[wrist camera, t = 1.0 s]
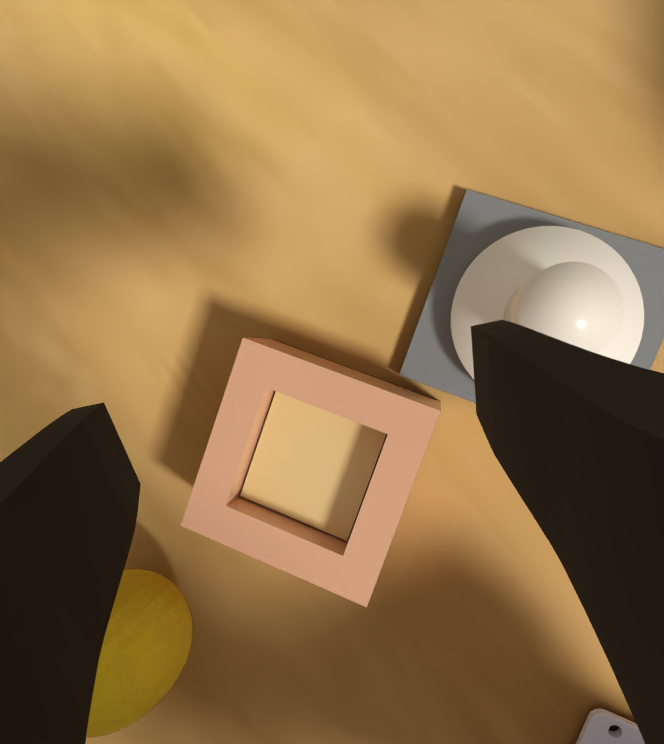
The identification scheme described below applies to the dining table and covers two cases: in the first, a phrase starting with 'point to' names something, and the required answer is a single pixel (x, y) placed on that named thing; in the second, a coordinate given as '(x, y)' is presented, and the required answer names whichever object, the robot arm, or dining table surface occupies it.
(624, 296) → the lid
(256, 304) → the dining table surface
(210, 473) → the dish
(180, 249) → the dining table surface
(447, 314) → the mat
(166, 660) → the lemon
